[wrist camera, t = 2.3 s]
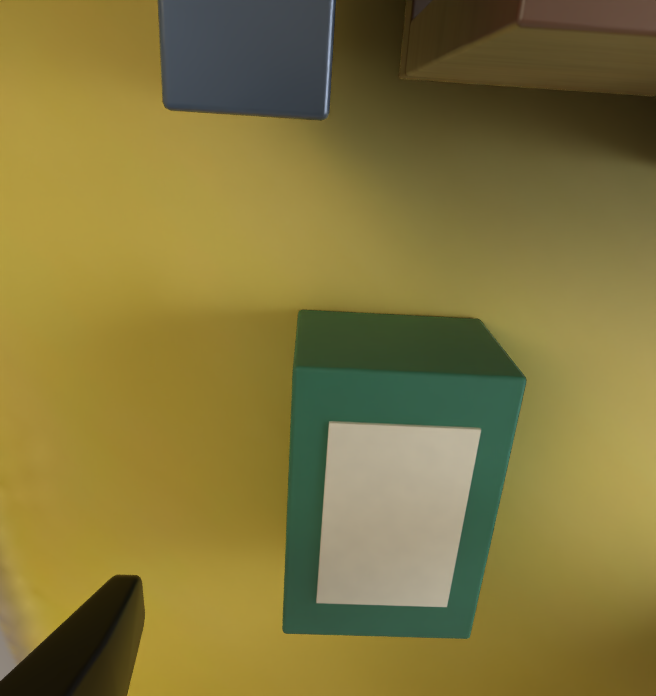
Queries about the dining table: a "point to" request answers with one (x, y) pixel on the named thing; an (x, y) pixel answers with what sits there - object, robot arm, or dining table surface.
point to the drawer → (416, 53)
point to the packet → (394, 472)
